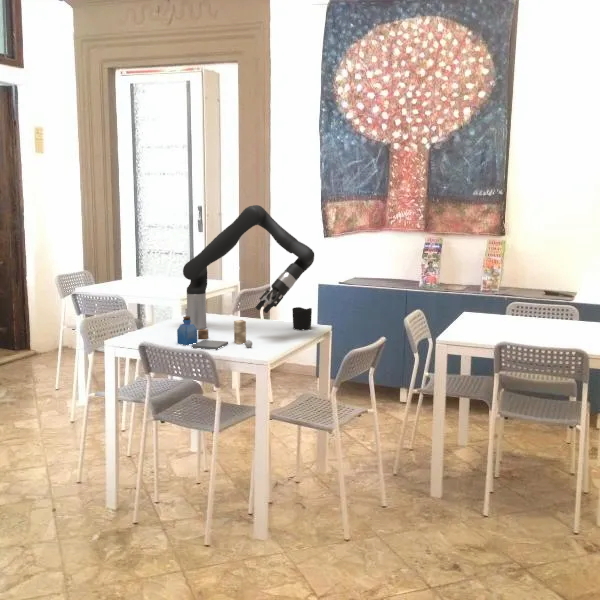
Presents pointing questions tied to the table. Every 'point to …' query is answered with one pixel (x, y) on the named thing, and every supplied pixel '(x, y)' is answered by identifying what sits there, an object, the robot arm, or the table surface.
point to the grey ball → (248, 343)
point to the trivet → (209, 344)
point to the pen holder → (302, 318)
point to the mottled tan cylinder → (239, 331)
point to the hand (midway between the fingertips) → (260, 310)
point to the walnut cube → (202, 333)
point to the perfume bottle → (187, 332)
